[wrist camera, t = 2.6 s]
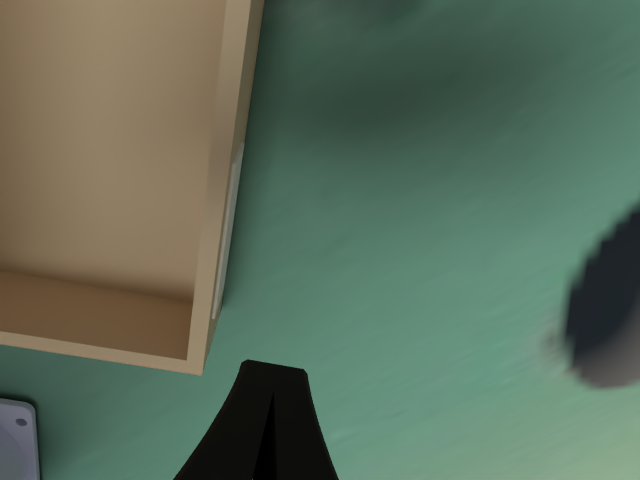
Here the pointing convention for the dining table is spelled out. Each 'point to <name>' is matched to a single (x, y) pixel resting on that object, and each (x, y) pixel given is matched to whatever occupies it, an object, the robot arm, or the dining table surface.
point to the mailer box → (121, 173)
